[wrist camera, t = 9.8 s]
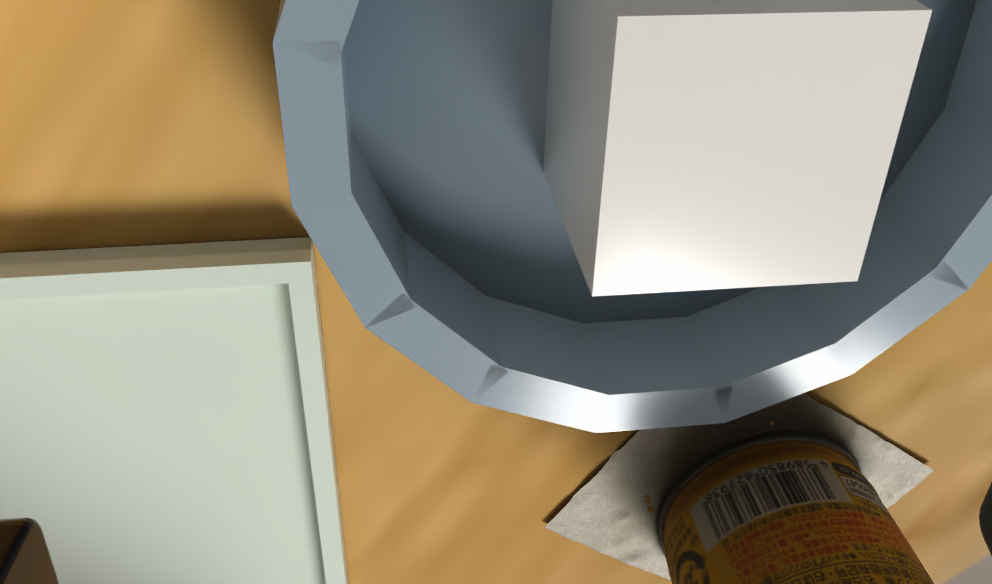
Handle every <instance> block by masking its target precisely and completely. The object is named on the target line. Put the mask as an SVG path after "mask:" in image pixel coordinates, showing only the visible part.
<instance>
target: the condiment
mask: <svg viewBox="0 0 992 584" xmlns="http://www.w3.org/2000/svg"><path fill="white" fill-rule="evenodd" d="M770 421H773V422H774V423H773V425H770V424H769V423H770ZM932 471H934V470H933V469H931V468H929V467H927V466H926V465H924V464H923V463H921V462H919V461H918V460H916V459H915V458H913V457H911V456H910V455H908V454H907V453H905V452H903V451H902V450H900V449H899V448H897V447H896V446H894V445H892V444H891V443H889V442H886V441H884V440H883V439H882V438H880V437H879V436H877V435H876V434H874V433H873V432H871V431H869V430H868V429H866V428H865V427H863V426H861V425H858V424H856V423H855V422H854V421H852V420H851V419H849V418H847V417H845V416H843V415H841V414H839V413H837V412H836V411H835V410H833V409H831V408H829V407H826V406H824V405H822V404H820V403H819V402H817V401H815V400H814V399H812V398H811V397H810V396H808V395H807V394H805V393H802V394H800V395H797V396H795V397H792V398H789V399H787V400H784V401H781V402H779V403H776V404H774V405H771V406H768V407H766V408H763V409H760V410H758V411H755V412H752V413H750V414H747V415H745V416H742V417H739V418H737V419H734V420H731V421H729V422H726V423H718V424H705V425H693V426H680V427H667V428H654V429H642V430H639V431H638V432H637V433H636V434H635V435H634V436H633V437H632V438H631V439H630V440H629V441H628V442H627V443H626V444H625V445H624V446H623V447H622V448H621V449H620V450H618V451H616V452H615V453H613V454H612V455H611V457H610V459H609V461H608V462H607V463H606V464H605V465H604V467H603V468H602V469H601V470H600V471H599V472H598V474H597V475H595V476H594V477H593V479H592V480H591V481H590V482H589V483H587V484H586V485H585V486H584V487H582V488H581V489H580V490H579V491H578V492H577V493H576V494H575V495H574V496H573V497H572V499H571V500H570V502H569V503H568V504H567V505H566V506H565V507H564V508H563V509H562V510H561V511H560V512H559V513H558V514H557V515H556V516H555V517H554V518H553V519H552V520H551V521H550V522H549V523H548V524H547V525H546V526H545V528H547V529H549V530H551V531H554V532H556V533H558V534H560V535H562V536H563V537H565V538H568V539H570V540H573V541H576V542H579V543H582V544H584V545H586V546H589V547H590V548H592V549H593V550H595V551H597V552H599V553H602V554H606V555H610V556H612V557H614V558H616V559H618V560H620V561H622V562H623V563H626V564H628V565H633V566H635V567H637V568H639V569H641V570H645V571H647V572H650V573H653V574H656V575H659V576H661V577H664V578H666V579H669V580H671V581H672V584H934V583H933V581H932V580H931V578H930V577H929V575H928V573H927V572H926V570H925V568H924V567H923V565H922V564H921V562H920V560H919V559H918V557H917V556H916V554H915V553H914V551H913V549H912V548H911V546H910V544H909V543H908V541H907V540H906V538H905V537H904V535H903V534H902V532H901V531H900V529H899V527H898V526H897V524H896V523H895V521H894V520H893V518H892V516H891V515H890V513H889V512H888V510H887V508H888V507H889V506H891V505H893V504H895V503H896V502H897V501H898V500H899V499H900V498H901V497H903V496H904V495H905V494H907V493H908V492H909V491H910V490H912V489H913V488H914V487H915V486H916V485H918V484H919V483H920V482H921V481H922V480H924V479H925V478H926V477H927V476H928V475H929V474H930V473H931V472H932ZM648 494H649V495H650V497H651V502H650V503H646V502H645V499H644V498H645V496H646V495H648ZM650 506H654V511H653V512H651V513H650V512H648V507H650Z"/></svg>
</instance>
